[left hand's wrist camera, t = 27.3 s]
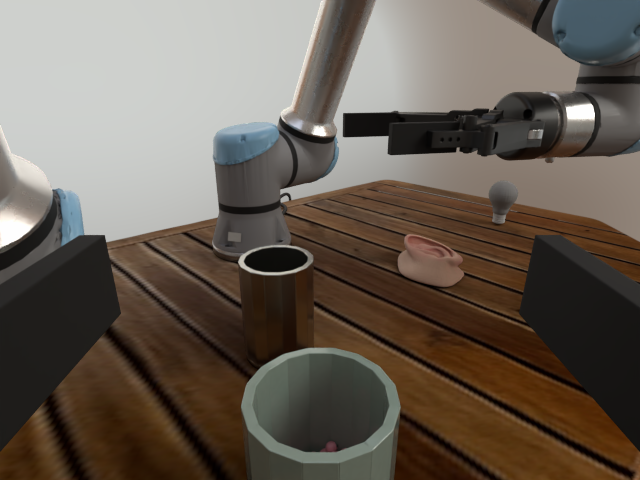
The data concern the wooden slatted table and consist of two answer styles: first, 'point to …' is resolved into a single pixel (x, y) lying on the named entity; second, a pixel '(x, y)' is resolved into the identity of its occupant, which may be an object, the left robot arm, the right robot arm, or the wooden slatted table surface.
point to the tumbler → (276, 301)
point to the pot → (320, 418)
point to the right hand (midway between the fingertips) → (363, 131)
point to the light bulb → (502, 199)
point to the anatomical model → (429, 262)
